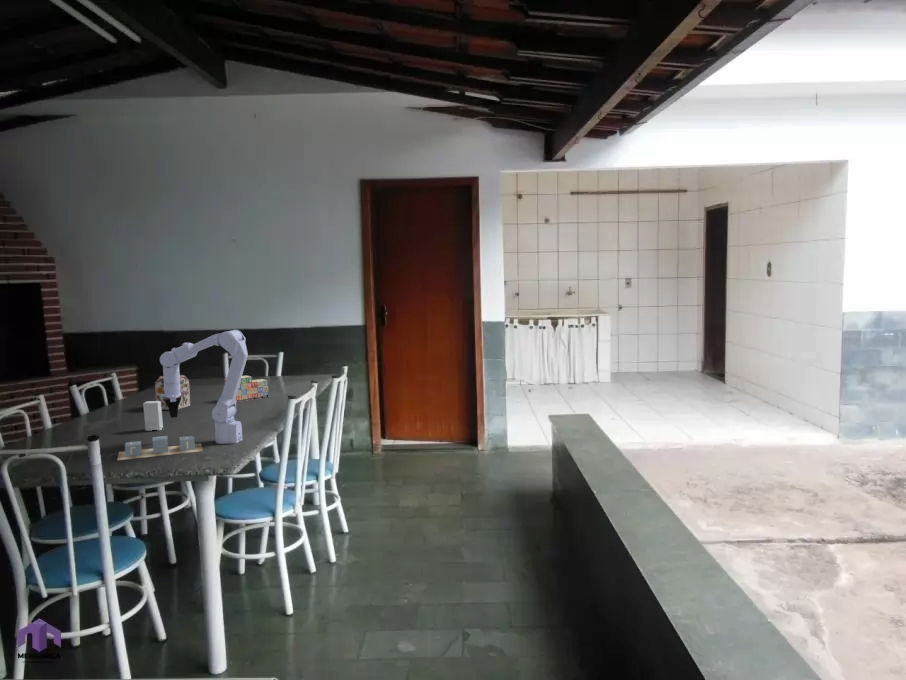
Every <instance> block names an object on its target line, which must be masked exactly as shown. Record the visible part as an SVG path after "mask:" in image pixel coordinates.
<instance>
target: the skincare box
mask: <svg viewBox="0 0 906 680" xmlns="http://www.w3.org/2000/svg"><path fill="white" fill-rule="evenodd" d="M142 406H143V416H144V417H143V418H144V427H145V428H144V429H145V432H149V431H151V432H153V431H152V430H157V431H161V430H163V429H164V423H163V410H161V401H156V400H155V401H154V400H153V401H152V400H151V401H150V400H149V401H145V402H143V404H142ZM162 428H163V429H162Z"/></svg>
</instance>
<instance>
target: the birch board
mask: <svg viewBox="0 0 906 680" xmlns="http://www.w3.org/2000/svg"><path fill="white" fill-rule="evenodd" d="M197 452H203V446H202V443H195V449H194V450H184V451H180V445H174V446H173V445H172V446H168V452H166V453H157V454H153V447H152V448H145V449H144V448H143V449H142V448H141V455H139V456H130V457H126V456H125V450H124V451H118V455H117V458H116V460H117V461H124V460H135V459H143V458H144V459H145V458H150V457H151V458H152V457H160V456H168V455H178V454H179V455H180V454H188V453H197Z"/></svg>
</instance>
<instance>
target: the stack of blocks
mask: <svg viewBox="0 0 906 680" xmlns="http://www.w3.org/2000/svg"><path fill="white" fill-rule="evenodd" d="M226 378H227V377H226ZM226 378H224V383H225V382H226ZM265 395H269V380H267V379H263V378H261V379H260V378H259V379H253V376H250V375H242V377H241V381H240V384H239V387H238V391H237V394H236V401H237V400H243V399H248V398H253V397H260V396H265Z"/></svg>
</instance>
